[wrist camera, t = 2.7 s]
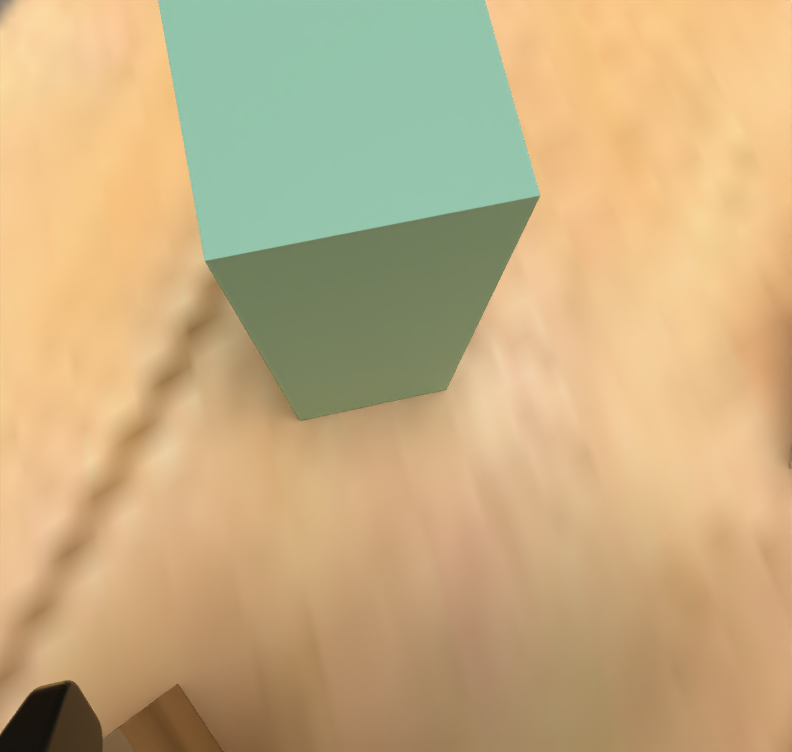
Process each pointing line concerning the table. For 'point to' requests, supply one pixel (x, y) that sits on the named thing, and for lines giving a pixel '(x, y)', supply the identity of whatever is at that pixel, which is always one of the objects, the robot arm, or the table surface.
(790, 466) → the grey cube
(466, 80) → the green block
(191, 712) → the walnut cube
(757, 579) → the table surface
